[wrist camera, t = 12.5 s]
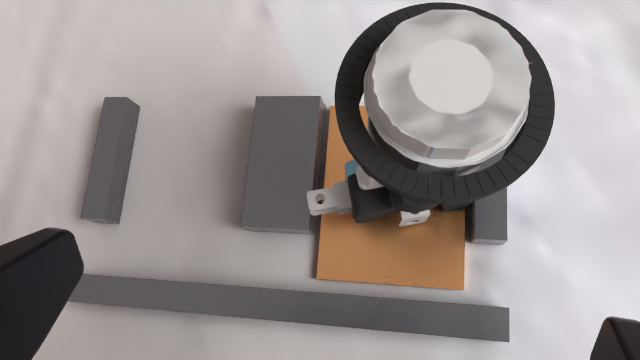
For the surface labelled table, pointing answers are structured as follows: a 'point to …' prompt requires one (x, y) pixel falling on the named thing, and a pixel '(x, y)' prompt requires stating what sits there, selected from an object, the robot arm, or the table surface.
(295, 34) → the table surface
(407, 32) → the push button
